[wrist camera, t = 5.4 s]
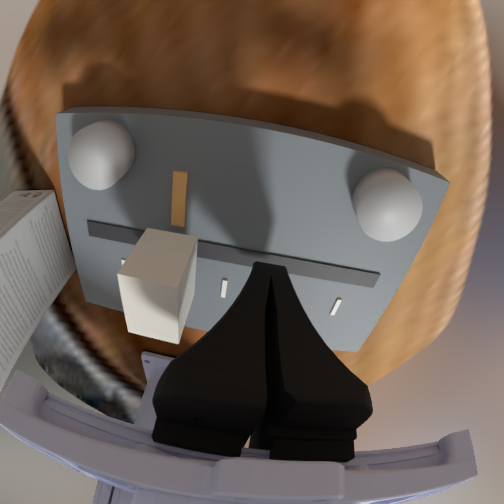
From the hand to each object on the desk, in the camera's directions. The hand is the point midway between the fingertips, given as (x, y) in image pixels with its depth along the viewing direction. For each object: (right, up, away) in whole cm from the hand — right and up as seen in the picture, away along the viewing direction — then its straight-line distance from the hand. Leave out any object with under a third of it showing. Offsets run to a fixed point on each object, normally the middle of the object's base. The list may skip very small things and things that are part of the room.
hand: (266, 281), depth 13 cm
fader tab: (-4, +1, +1) cm, 4 cm away
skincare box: (-14, +3, +3) cm, 15 cm away
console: (-2, +2, +2) cm, 3 cm away
